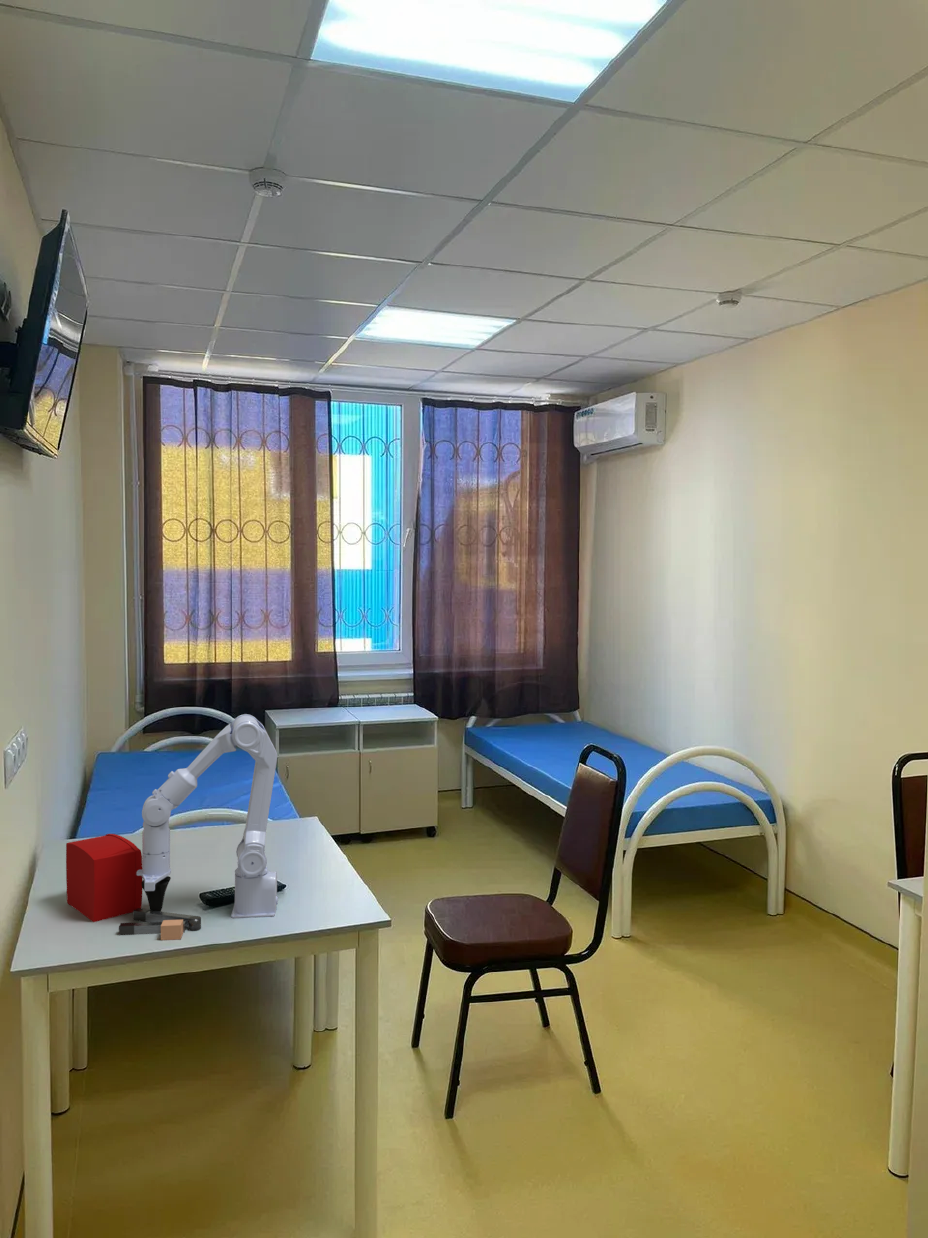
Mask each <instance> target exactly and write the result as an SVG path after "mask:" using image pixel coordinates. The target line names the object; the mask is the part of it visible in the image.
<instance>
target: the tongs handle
mask: <svg viewBox="0 0 928 1238" xmlns="http://www.w3.org/2000/svg"><path fill="white" fill-rule="evenodd" d="M161 924H162V922H120V924H119V926H118V935H119V936H135V935H159V934H160V935H161ZM186 930H187V927H186V921H183V934H184V933H185V932H186Z"/></svg>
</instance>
